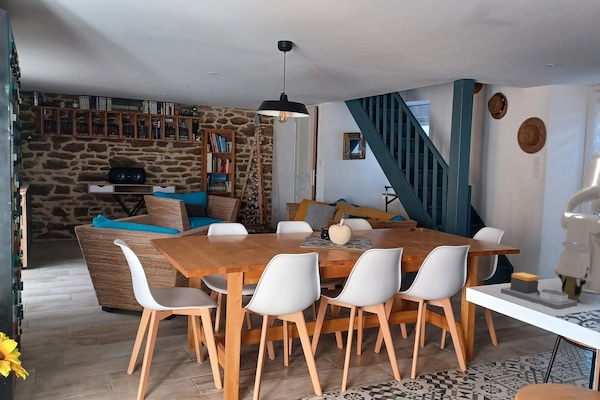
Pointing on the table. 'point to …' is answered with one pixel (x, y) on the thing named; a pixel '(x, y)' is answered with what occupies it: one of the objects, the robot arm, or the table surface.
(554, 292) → the ring
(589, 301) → the table surface
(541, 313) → the table surface
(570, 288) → the cork
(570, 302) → the grey base plate
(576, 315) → the table surface
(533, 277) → the button
